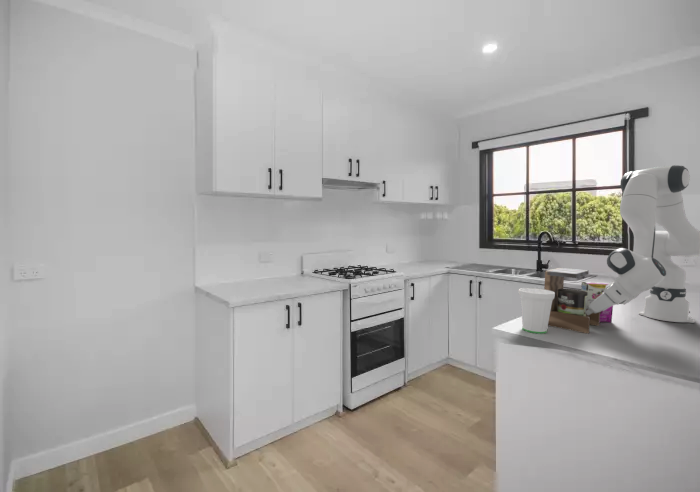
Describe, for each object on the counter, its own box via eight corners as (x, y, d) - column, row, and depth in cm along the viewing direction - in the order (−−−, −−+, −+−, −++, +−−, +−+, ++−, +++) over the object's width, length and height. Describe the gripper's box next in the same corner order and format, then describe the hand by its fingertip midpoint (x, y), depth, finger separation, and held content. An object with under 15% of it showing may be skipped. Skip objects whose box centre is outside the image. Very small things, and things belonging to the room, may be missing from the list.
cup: (548, 327, 143) (551, 289, 142) (556, 336, 132) (558, 295, 131) (514, 324, 147) (516, 287, 146) (518, 333, 135) (520, 292, 134)
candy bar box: (584, 321, 154) (587, 283, 153) (578, 318, 159) (580, 281, 158) (612, 322, 152) (615, 284, 151) (605, 319, 157) (608, 282, 156)
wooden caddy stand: (557, 317, 160) (559, 267, 159) (599, 325, 149) (602, 271, 147) (542, 324, 148) (545, 270, 146) (587, 333, 136) (591, 275, 135)
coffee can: (574, 329, 141) (576, 293, 140) (550, 322, 150) (552, 289, 149) (591, 327, 145) (593, 292, 144) (566, 320, 155) (568, 287, 154)
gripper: (618, 283, 145) (588, 303, 152) (606, 288, 131) (573, 310, 138) (631, 295, 142) (600, 315, 149) (620, 303, 128) (586, 324, 135)
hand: (587, 313), depth 144 cm, fingers closed, pressing on coffee can
